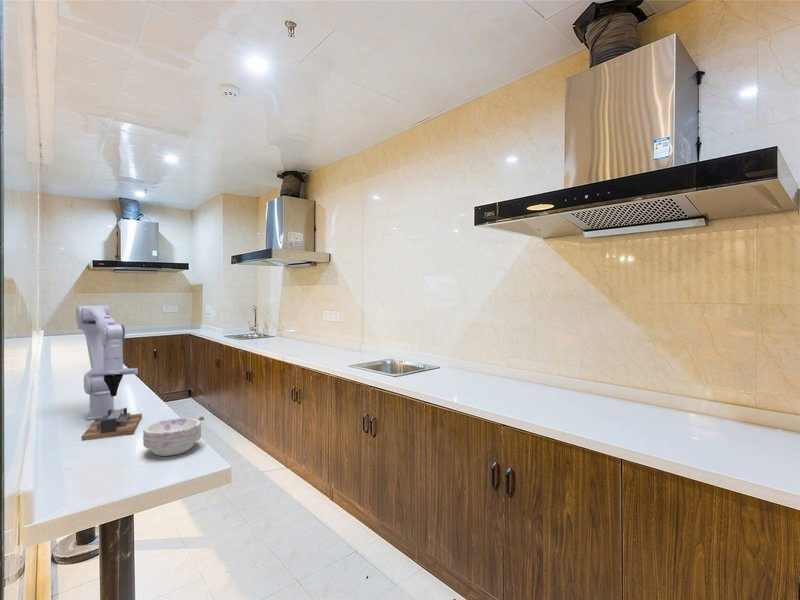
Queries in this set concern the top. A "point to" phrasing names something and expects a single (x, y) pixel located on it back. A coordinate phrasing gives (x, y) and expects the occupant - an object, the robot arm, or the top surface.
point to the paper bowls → (172, 436)
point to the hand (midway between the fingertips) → (113, 395)
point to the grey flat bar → (115, 414)
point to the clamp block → (113, 422)
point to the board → (121, 431)
